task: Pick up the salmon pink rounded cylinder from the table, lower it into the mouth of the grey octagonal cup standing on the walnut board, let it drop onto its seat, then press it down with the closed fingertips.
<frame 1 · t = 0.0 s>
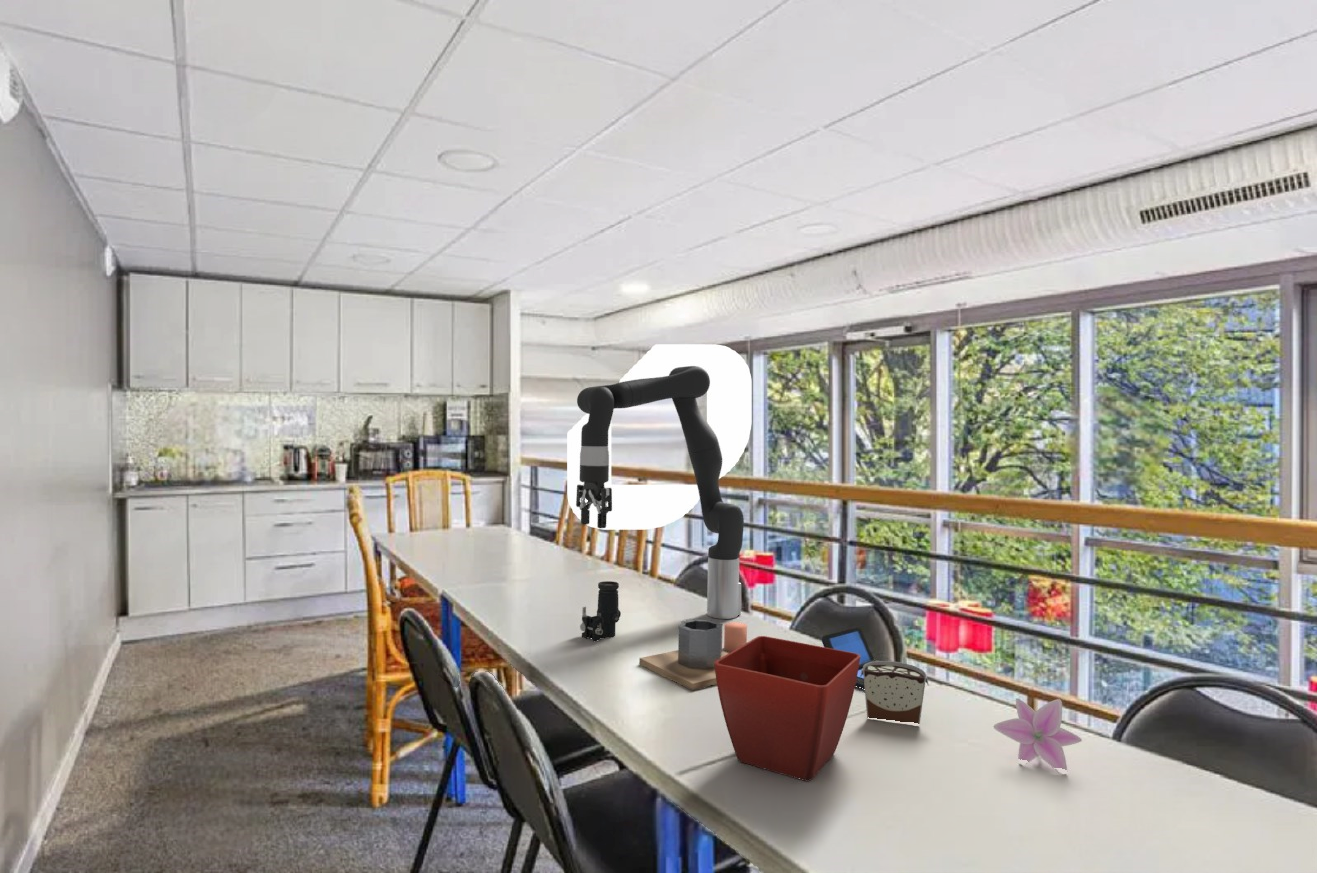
hand: (593, 526, 187), 29 cm above the table, tool pointing down, fingers open, 8 cm apart
grey octagonal cup: (700, 643, 165), on the walnut board, point 6 cm above the table
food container: (893, 718, 139), on the table
scope: (604, 637, 189), on the table
salmon pink rounded cylinder: (735, 649, 180), on the table
walnut board: (699, 669, 165), on the table
handheld game console: (864, 679, 162), on the table
lily: (1037, 762, 121), on the table
plant pot: (786, 759, 120), on the table
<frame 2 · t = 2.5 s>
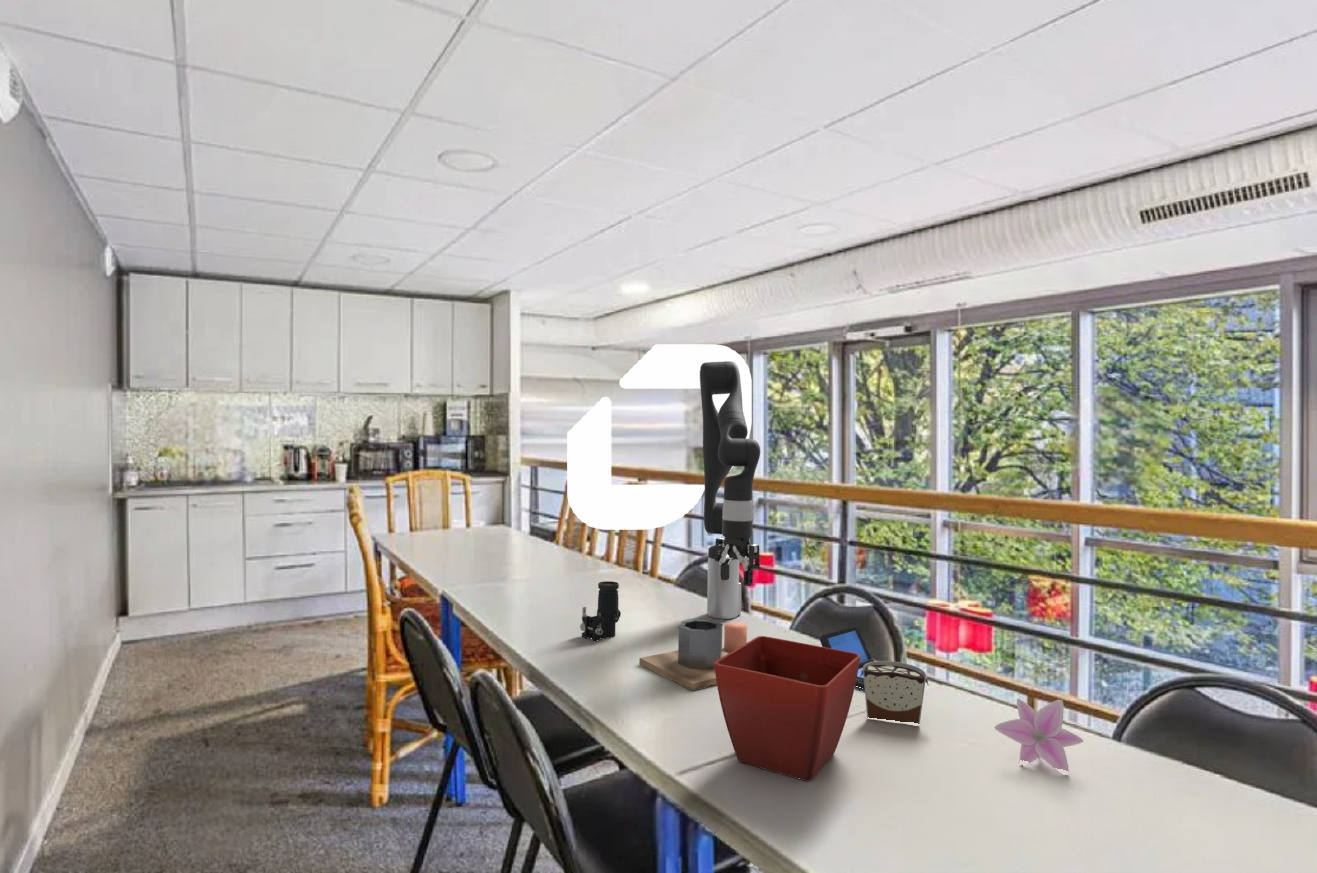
hand: (736, 582, 180), 17 cm above the table, tool pointing down, fingers open, 8 cm apart
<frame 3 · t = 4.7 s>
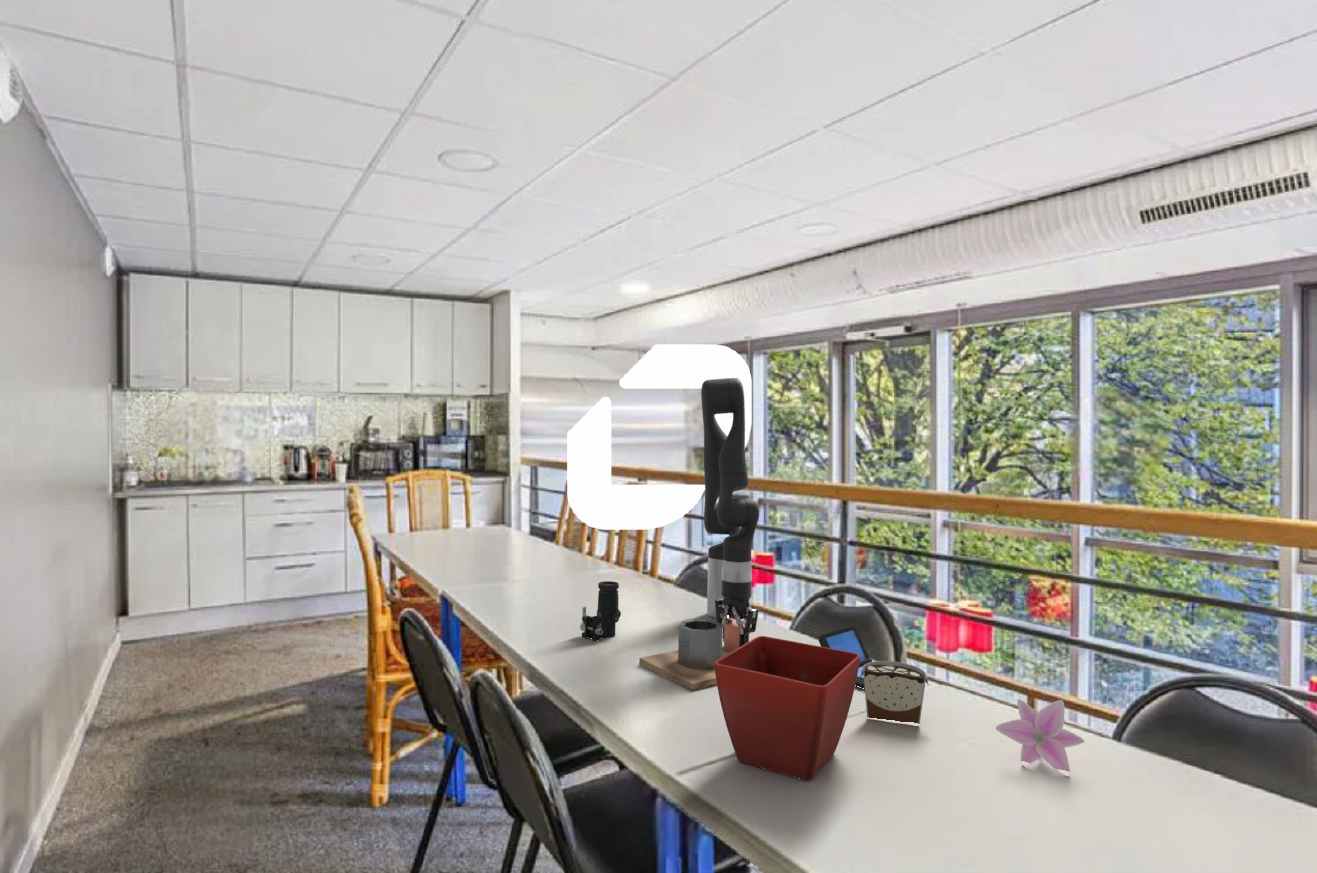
hand: (735, 645, 180), 1 cm above the table, tool pointing down, fingers closed on salmon pink rounded cylinder, 5 cm apart
salmon pink rounded cylinder: (735, 649, 180), on the table, touching gripper
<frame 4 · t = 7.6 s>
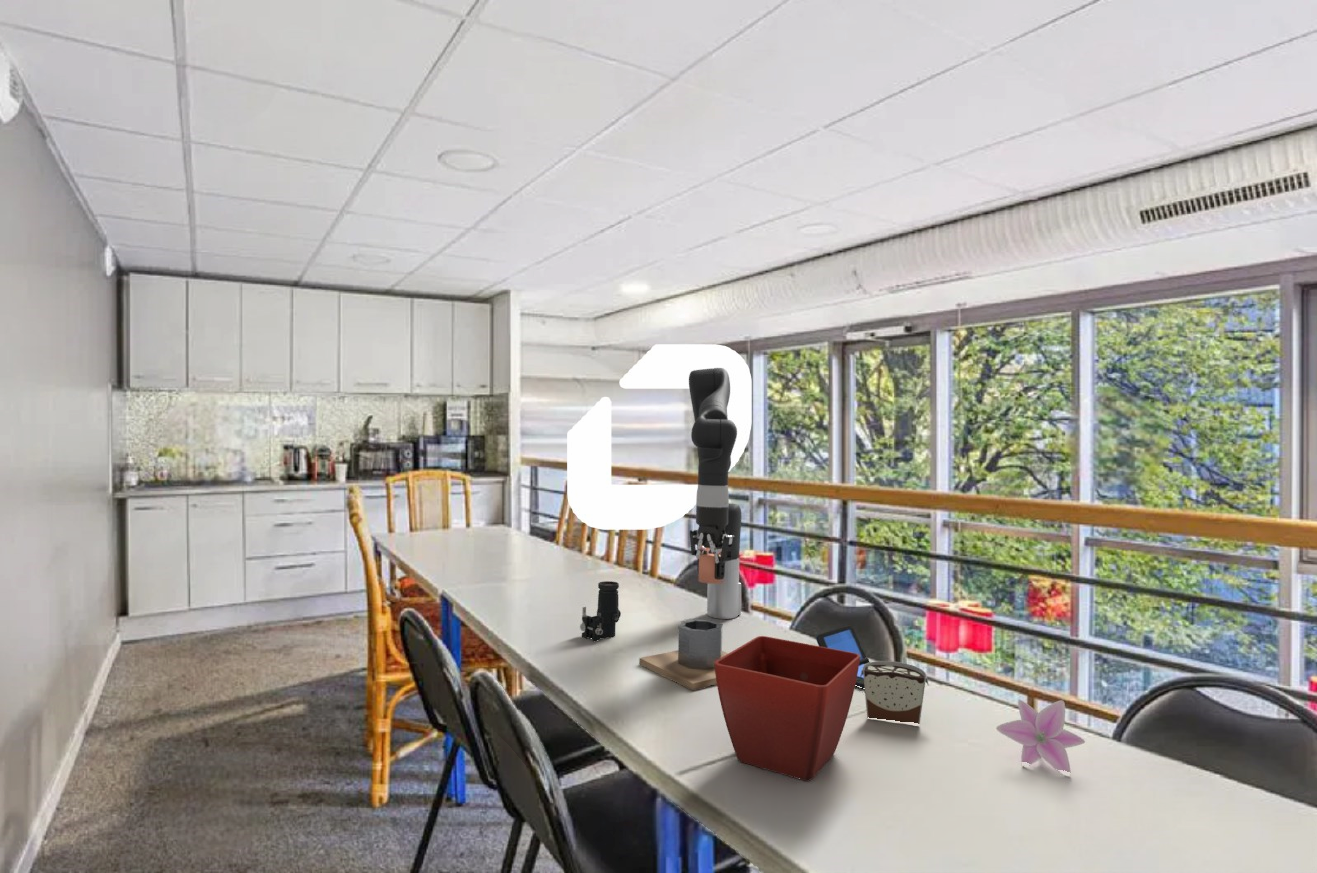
hand: (710, 576, 168), 21 cm above the table, tool pointing down, fingers closed on salmon pink rounded cylinder, 5 cm apart
salmon pink rounded cylinder: (710, 581, 168), point 20 cm above the table, touching gripper
when the fingers open (10 cm above the table, at t = 10.6 s): salmon pink rounded cylinder drops 2 cm, resting on grey octagonal cup.
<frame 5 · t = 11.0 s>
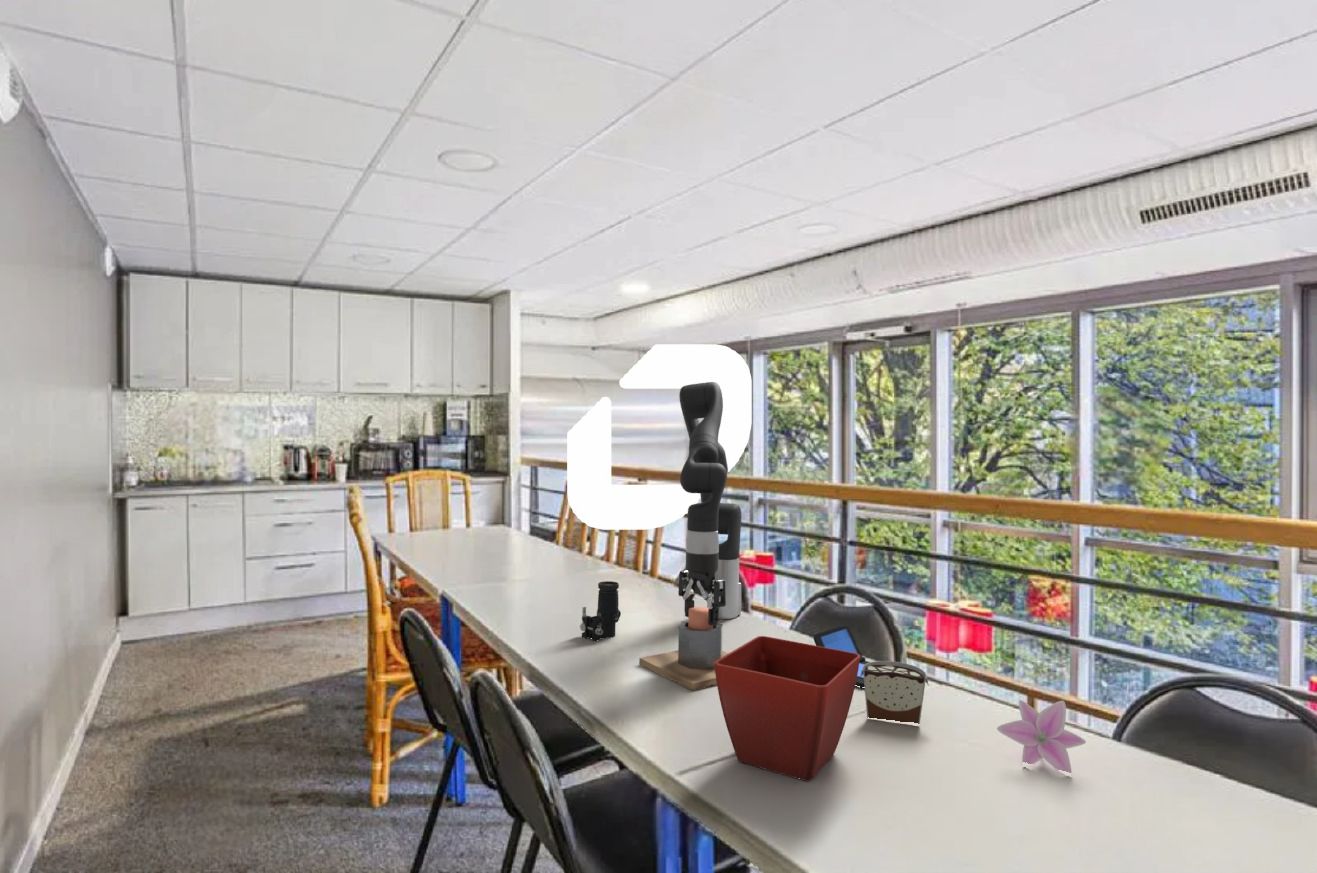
hand: (700, 620, 165), 11 cm above the table, tool pointing down, fingers open, 8 cm apart
salmon pink rounded cylinder: (700, 636, 165), point 8 cm above the table, touching grey octagonal cup
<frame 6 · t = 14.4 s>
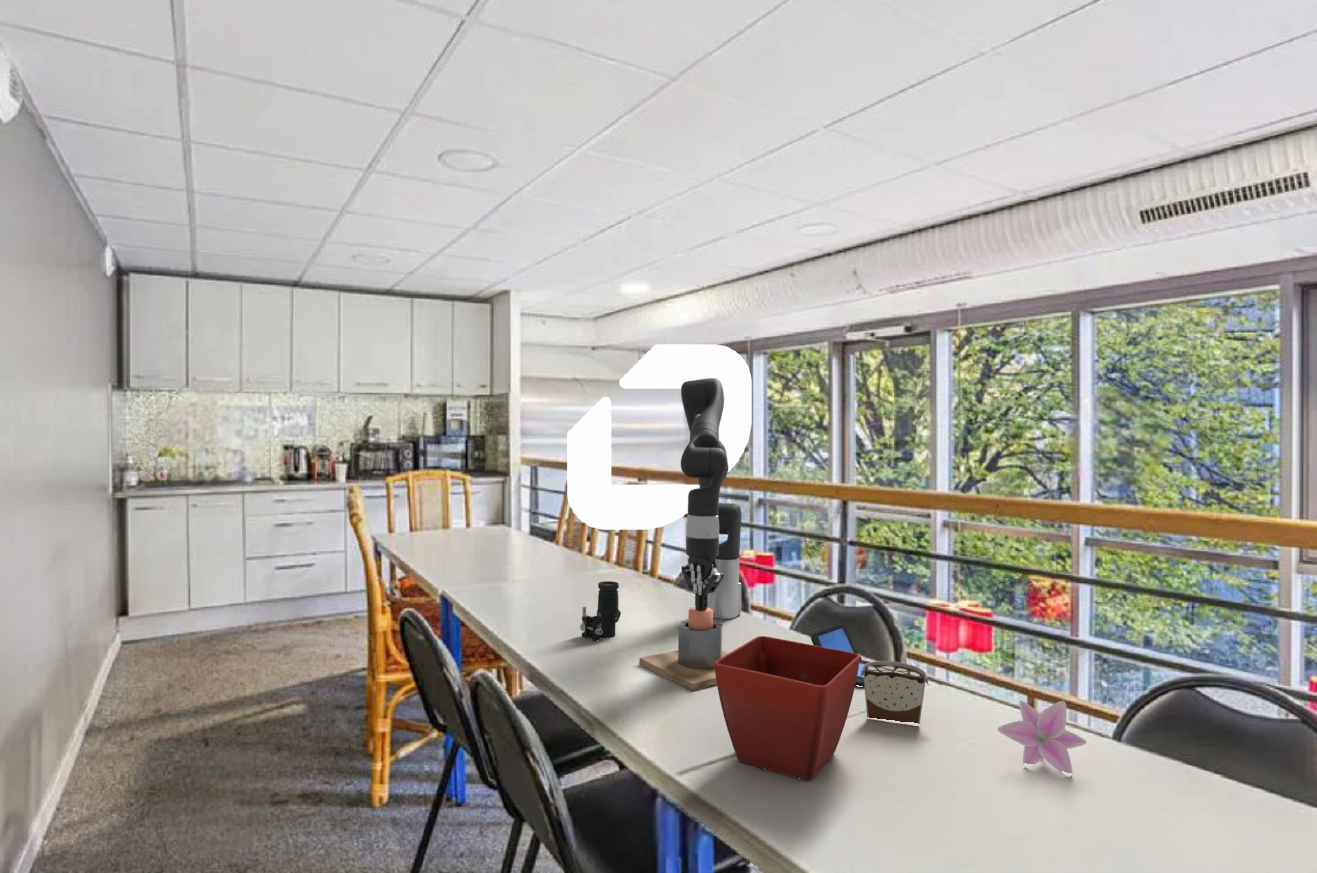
hand: (701, 610, 165), 13 cm above the table, tool pointing down, fingers closed
salmon pink rounded cylinder: (700, 636, 165), point 7 cm above the table, touching gripper, grey octagonal cup
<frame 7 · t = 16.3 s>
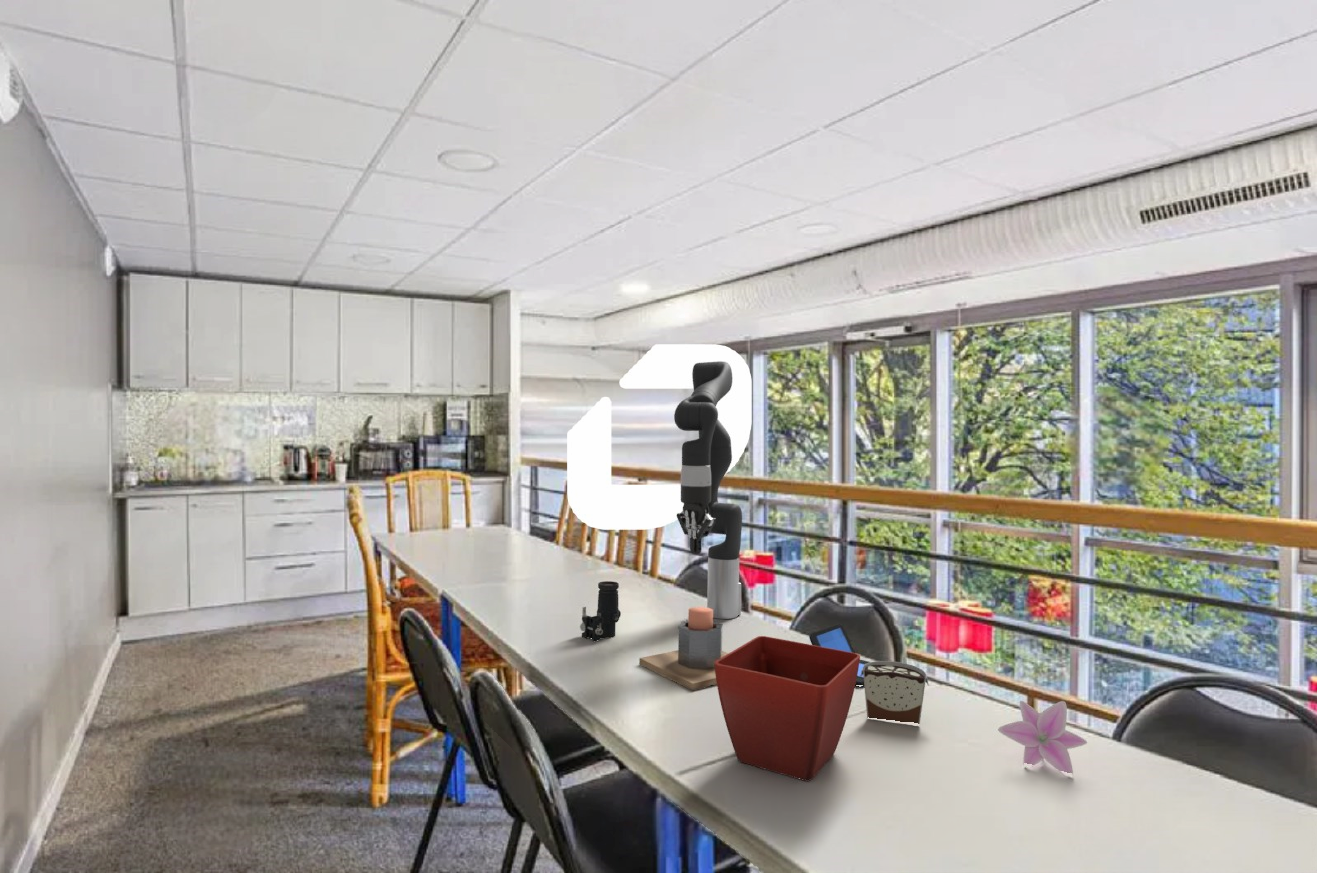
hand: (695, 553, 178), 24 cm above the table, tool pointing down, fingers closed
salmon pink rounded cylinder: (700, 636, 165), point 7 cm above the table, touching grey octagonal cup
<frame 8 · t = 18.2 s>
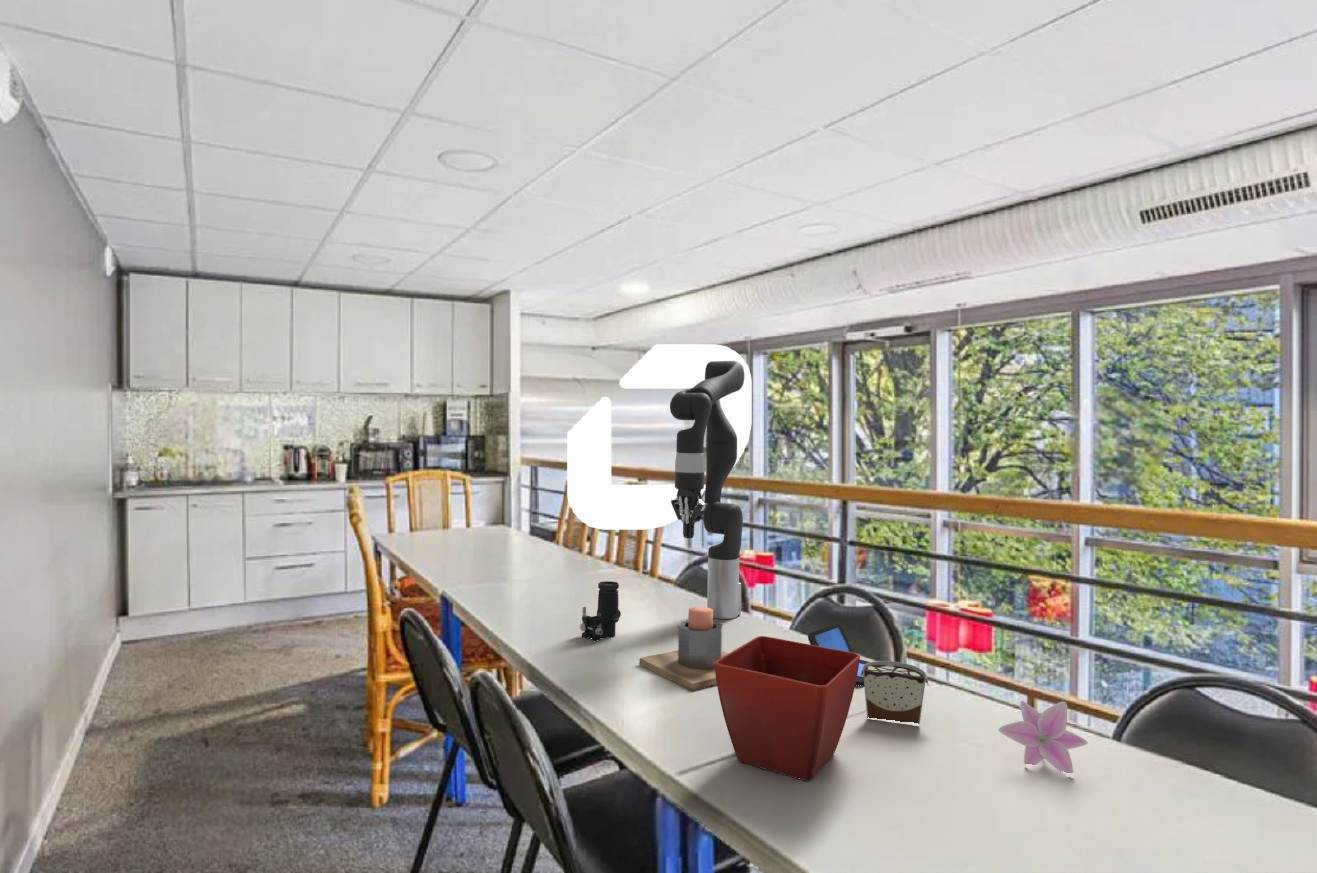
hand: (688, 537, 185), 27 cm above the table, tool pointing down, fingers closed
at the end: salmon pink rounded cylinder 0.1 cm off-centre on the grey octagonal cup, point 7.5 cm above the grey octagonal cup's base; salmon pink rounded cylinder tilted 0°; the gripper is holding nothing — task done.
